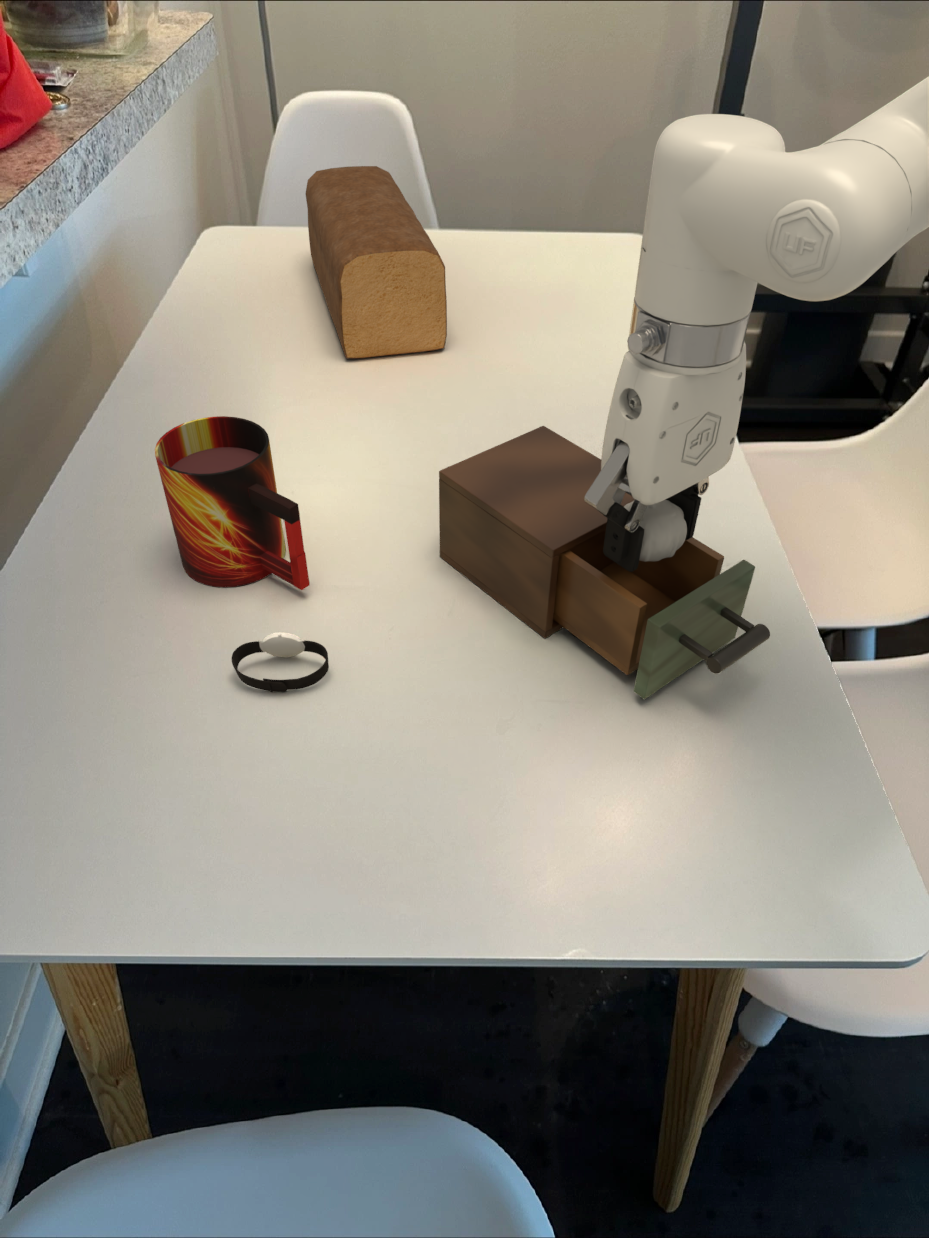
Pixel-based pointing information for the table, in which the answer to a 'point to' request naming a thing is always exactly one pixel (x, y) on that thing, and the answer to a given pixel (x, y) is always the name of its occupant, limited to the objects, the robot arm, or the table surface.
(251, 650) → the watch
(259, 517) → the mug
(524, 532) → the cabinet
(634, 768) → the table surface
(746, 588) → the drawer
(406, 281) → the bread
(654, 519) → the garlic
